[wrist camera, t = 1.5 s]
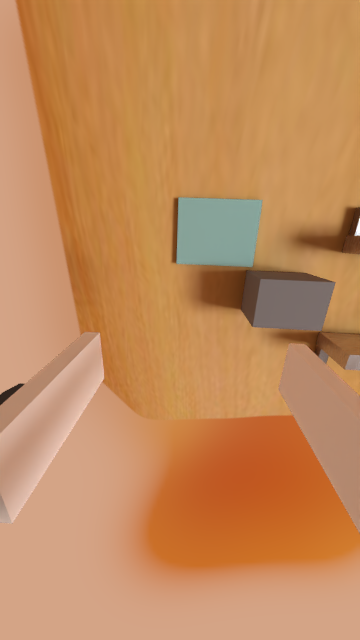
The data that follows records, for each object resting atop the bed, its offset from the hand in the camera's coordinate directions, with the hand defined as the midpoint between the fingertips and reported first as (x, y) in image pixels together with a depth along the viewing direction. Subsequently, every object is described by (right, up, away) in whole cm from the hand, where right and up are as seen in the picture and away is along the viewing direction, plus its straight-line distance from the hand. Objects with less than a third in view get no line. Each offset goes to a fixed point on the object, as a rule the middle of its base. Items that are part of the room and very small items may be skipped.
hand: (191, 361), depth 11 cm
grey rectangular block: (+11, +6, +16) cm, 20 cm away
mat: (+4, +12, +14) cm, 19 cm away
